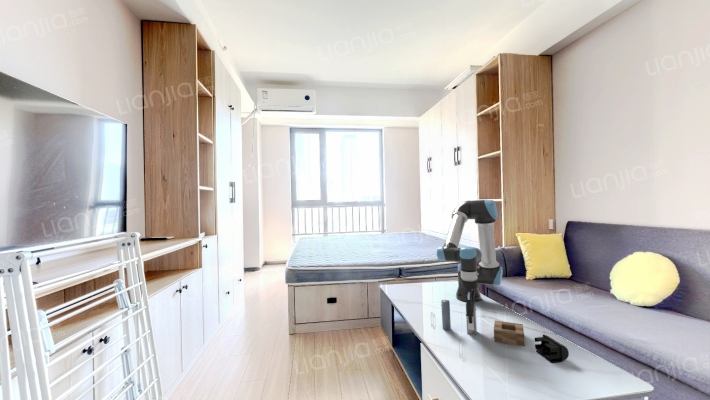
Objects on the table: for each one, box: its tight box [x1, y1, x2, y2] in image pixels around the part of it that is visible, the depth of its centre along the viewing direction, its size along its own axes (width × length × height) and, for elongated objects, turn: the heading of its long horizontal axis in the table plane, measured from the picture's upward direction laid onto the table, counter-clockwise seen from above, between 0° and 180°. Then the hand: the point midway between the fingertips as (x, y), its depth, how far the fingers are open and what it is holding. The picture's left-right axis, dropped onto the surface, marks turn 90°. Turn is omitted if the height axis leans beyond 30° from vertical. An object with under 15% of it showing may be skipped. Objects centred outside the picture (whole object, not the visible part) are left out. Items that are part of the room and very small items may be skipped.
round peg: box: [440, 299, 452, 331], centre depth 147 cm, size 4×4×14 cm
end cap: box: [534, 334, 570, 364], centre depth 117 cm, size 10×7×7 cm
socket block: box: [493, 320, 526, 347], centre depth 134 cm, size 12×12×5 cm
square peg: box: [465, 302, 478, 336], centre depth 141 cm, size 4×4×14 cm
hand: (471, 326), depth 141 cm, fingers open, 6 cm apart
